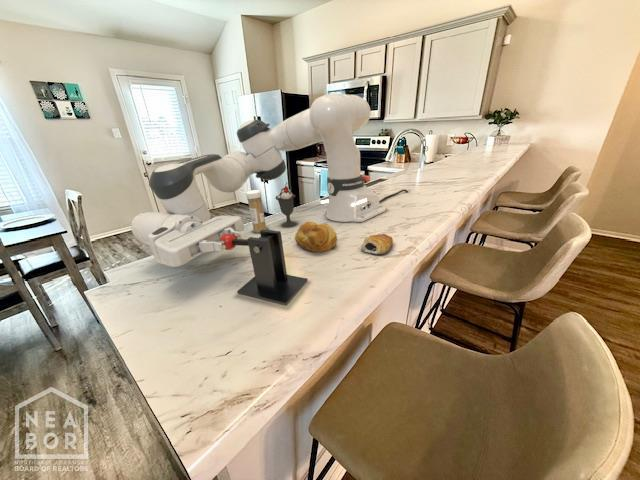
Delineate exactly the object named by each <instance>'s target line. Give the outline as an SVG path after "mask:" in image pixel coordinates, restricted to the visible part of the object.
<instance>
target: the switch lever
mask: <svg viewBox="0 0 640 480" xmlns="http://www.w3.org/2000/svg"><path fill="white" fill-rule="evenodd" d="M258 238H262V239H269V242H270V248H271V250H272V249H273V248H275V247H276V245H275V241H274V237H273V236H261V235H260V236H259V237H258ZM247 239H248V238H241V239H236V237H235V236H234V235H233V234H229V233H227V234H224V235H222V236H221V238H220V240H221V241H224V242H225V246H226V248H225V249H224V250H225V251H232V250H233V249H236V246H242V247H249V245H248V240H247Z"/></svg>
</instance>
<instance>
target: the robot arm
mask: <svg viewBox="0 0 640 480" xmlns="http://www.w3.org/2000/svg"><path fill="white" fill-rule="evenodd" d="M370 106H371V105H369V103H368V101H367V100H366V99H364V98H363V97H361V96H359V95H357V94H347V93H346V94H345V93H327V94H324V95H322V96H318V97H317V98H315V99H314V100H313V102H312V104H311V105H310V108H309V107H308V108H307V109H304V110H302V111H300V112H298V113H296V114H294V115H292V116H290V117H288V118H286V119H285V120H283V121H281V122H280V123H279V124H277V125H276V126H274V127H273V128H270V127H269V126H271V124H270V123H269V122H268V123H266V122H265V121H263V120H260V119H250V120H246V121H244V122H243V123H242V124H241V125H240V127H239V128H238V129H237V131H236V136H237V139H238V142H239V143H240V144H241V146H242V148H243V150H244V151H242V150H240V151H239V150H237V151H232V152H230V153H227V154H225V155H224V156H221V155H220V154H215V153H211V154H204V155H200V156H197V157H193V158H189V159H188V160H184V161H181V162H177V163H169V164H164V165H161V166H159V167H157V168H155V169H154V170H152V172H151V173H150V177H149V181H148V186H149V188H150V189H151V190H152V192H153V193H154V195H155V196H156V197H157V198H158V199H159V201H160V204H161V205H162V207H163V208H164V210H165V211H163V212H162V211H161V212H160V211H146V212H145V211H144V212H141V213H138V214H136V215H135V216H134V217H133V218H132V221H131V223H130V224H131V226H130V227H131V228H130V229H131V233H132V235H133V237H134V238H135V239H136V240H137V241H138V242H140V243H142V244H144V245H146V246H148V247H149V249H150V251H151V254H152V256H153V259H154V260H155V262H156V263H157V264H162V265H164V266H167V267H173V268H176V267H181V266H183V265H185V264H187V263H189V262H190V261H192V260H194V259H196V258H197V257H198V256H201V255H202V254H204V253H209V252H210V253H211V252H215V251H216V252H222V251H224V250H225V248H226V246H225V242H224V241H221V240H220V238H221V236H222V235H224V234H227V233H229V234H233V235H234V236H235V237H236V239H243V238H242V234H241V232H242V231H244V229H245V227H244V222H243V219H242V217H241V216H239V215H217V216H215V217H212V213H211V211H210V209H209V207H208V204H207V202H206V200H205V199H204V196H203V195H202V192H201V190H200V188H199V186H198V183H197V179H196V176H197V175H200V174H203V176H204V177H205V178H206V179H207V181H208V183H209V184H210V185H211V186H212V187H213V188H214V189H216V190H217V191H219V192H222V193H227V194H228V193H234V192H237V191H238V190H240V189H241V188H242V187H243V186H244V184H245V183H246V182H247V181H248V179H250V177H251V176H252V175H254V174H255V178H256V179H262V180H264V181H273V180H276V179H279V178H280V177H281V176H282V175H283V174H284V173H285V172H286V169H287V166H286V165H287V164H286V161H285V159H284V158H283V157H282V154H281V152H292V151H296V150H300V149H303V148H306V147H309V146H312V145H315V144H318V143H321V142H322V143H323V144H322V145H323V148H324V151H325V156H326V166H327V177H326V185H327V186H326V187H327V193H328V198H327V199H324V200H320V204H326V203H327V207H326V208H327V209H326V213H325V217H326V218H327V219H328V220H330V221H332V222H341V223H344V222H346V223H347V222H353V223H354V222H355V223H363V222H365V221H367V220H369V219H371V218H374V217H376V216H378V215H380V214H382V213H385V212H386V211H387V210H386V209H387V208H386V207H385V206H384V205H382V204H381V203H382V202H383V201H385V200H386V199H389V198H391V197H393V196H397V195H399V194H401V193H403V192H405V193H409V191H408V190H407V189H401V190H399V191H397V192H395V193H392V194H389V195H386V196H385V197H383V198H382V199H381V200H380V198H379V195H378V194H377V193H376V190H375V191H374V190H372V189H371V188H369V187H368V186H367V185H365V182H367V183H368V182H370V181H371V177H370V175H366V174H365V175H362V174H361V151H360V149H359V148H358V147H357V145H356V142H355V139H354V135H353V132H357V131H358V130H361V129H362V128H363V127H365V126H366V125H367V124H368V122H369V121H370V117H371V107H370ZM280 151H281V152H280Z"/></svg>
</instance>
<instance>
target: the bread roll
mask: <svg viewBox="0 0 640 480" xmlns="http://www.w3.org/2000/svg"><path fill="white" fill-rule="evenodd" d="M294 241H295V243H296V244H297V245H298V246H300V247H301V248H302V249H305V251H308V252H311V253H316V254H320V253H325V252H329V251H330V250H332V249H333V248H334V247H335V246H336V245H337V243H338V235H337V232H336V231H335V230H334V228H333V227H332V226H331V225H329V224H327V223H321V224H320V223H319V224H318V223H317V222H314V221H306V222H305V223H303V224H301V225H300V226H299V227H298V229H297V231H296V233H295V234H294Z"/></svg>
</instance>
